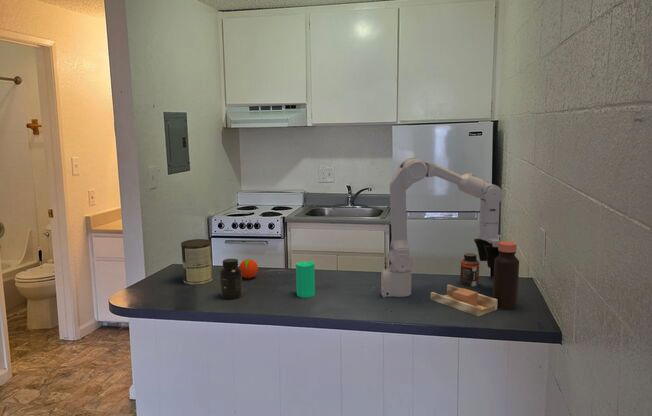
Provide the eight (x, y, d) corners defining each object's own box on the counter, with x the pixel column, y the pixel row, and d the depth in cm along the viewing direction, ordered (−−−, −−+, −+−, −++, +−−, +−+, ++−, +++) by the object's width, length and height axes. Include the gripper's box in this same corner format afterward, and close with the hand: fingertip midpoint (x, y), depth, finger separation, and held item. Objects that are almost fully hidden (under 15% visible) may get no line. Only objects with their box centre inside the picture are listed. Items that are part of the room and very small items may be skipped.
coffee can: (177, 281, 177) (174, 243, 175) (199, 274, 185) (197, 237, 183) (196, 286, 171) (193, 246, 169) (218, 279, 179) (216, 241, 177)
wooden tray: (430, 303, 152) (430, 290, 151) (463, 292, 161) (463, 280, 160) (478, 320, 138) (478, 306, 137) (511, 307, 147) (511, 294, 146)
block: (452, 304, 147) (452, 291, 146) (463, 300, 150) (463, 288, 149) (466, 309, 143) (466, 296, 142) (477, 305, 146) (477, 292, 145)
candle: (318, 292, 163) (317, 257, 161) (309, 298, 157) (309, 262, 156) (301, 290, 165) (301, 255, 163) (293, 296, 160) (292, 260, 158)
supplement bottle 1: (216, 297, 160) (214, 261, 158) (232, 291, 166) (231, 256, 164) (231, 301, 156) (229, 264, 154) (246, 295, 161) (245, 259, 160)
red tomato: (256, 281, 176) (255, 262, 174) (237, 281, 176) (236, 262, 175) (259, 275, 184) (259, 256, 182) (241, 275, 184) (240, 256, 182)
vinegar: (521, 310, 145) (525, 243, 142) (506, 315, 141) (510, 247, 138) (502, 303, 150) (505, 239, 147) (487, 308, 147) (490, 242, 144)
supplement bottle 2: (479, 290, 163) (480, 256, 161) (460, 289, 164) (461, 256, 163) (477, 284, 169) (478, 252, 167) (459, 283, 170) (460, 251, 168)
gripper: (510, 226, 148) (508, 270, 150) (493, 217, 162) (491, 257, 165) (487, 226, 148) (485, 270, 150) (472, 218, 162) (470, 258, 164)
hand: (487, 264), depth 157 cm, fingers open, 7 cm apart
